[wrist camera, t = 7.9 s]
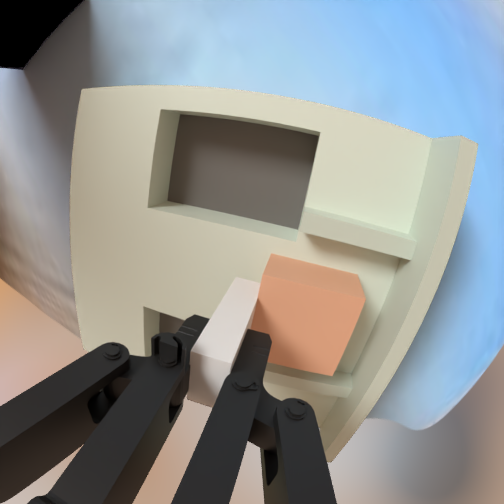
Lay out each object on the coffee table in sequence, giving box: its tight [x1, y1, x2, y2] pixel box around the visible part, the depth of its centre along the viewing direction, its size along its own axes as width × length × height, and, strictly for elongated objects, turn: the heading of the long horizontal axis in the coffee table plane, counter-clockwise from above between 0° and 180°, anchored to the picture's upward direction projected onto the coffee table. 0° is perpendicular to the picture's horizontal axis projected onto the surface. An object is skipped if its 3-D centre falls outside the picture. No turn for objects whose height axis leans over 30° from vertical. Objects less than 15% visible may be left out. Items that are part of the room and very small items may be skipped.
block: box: [251, 253, 366, 376], centre depth 15 cm, size 5×5×3 cm
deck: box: [70, 85, 478, 462], centre depth 17 cm, size 23×22×6 cm
